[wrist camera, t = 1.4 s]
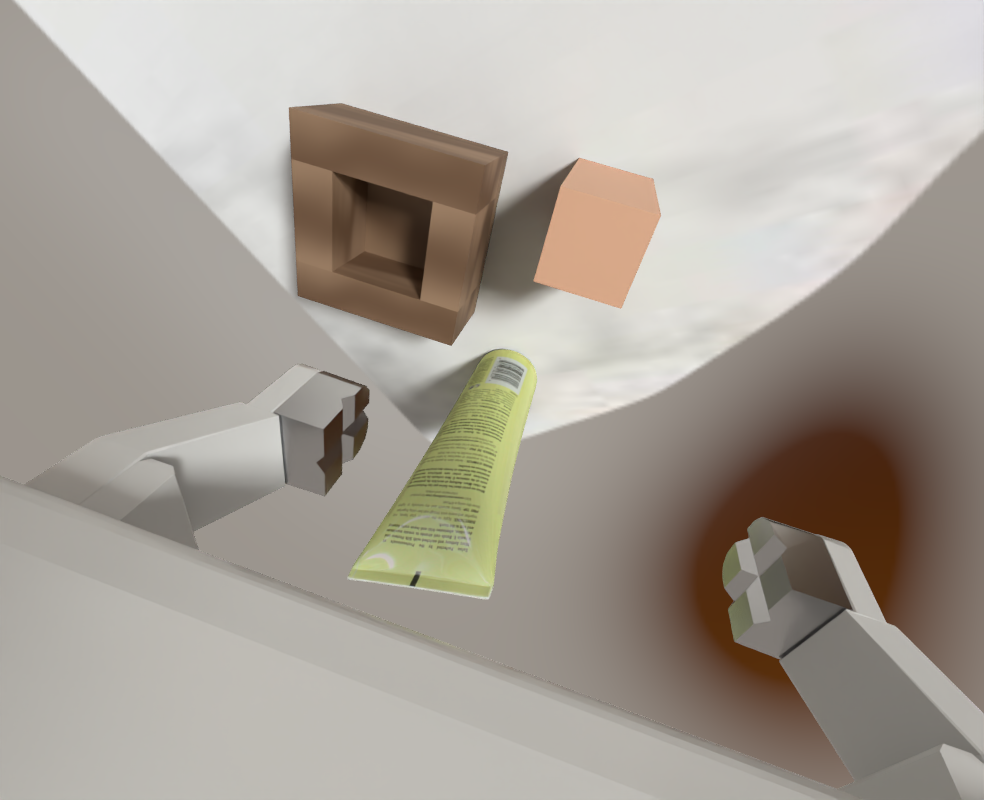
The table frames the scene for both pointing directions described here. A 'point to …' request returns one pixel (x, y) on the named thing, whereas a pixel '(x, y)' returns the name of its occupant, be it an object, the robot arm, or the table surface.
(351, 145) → the socket block
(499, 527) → the tube
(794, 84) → the table surface
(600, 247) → the peg
